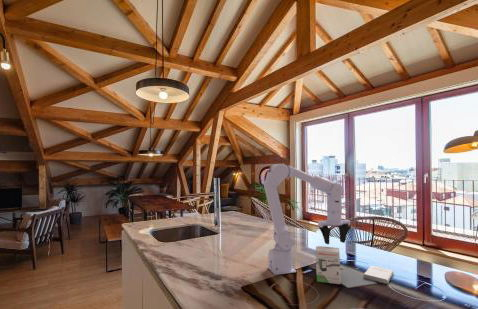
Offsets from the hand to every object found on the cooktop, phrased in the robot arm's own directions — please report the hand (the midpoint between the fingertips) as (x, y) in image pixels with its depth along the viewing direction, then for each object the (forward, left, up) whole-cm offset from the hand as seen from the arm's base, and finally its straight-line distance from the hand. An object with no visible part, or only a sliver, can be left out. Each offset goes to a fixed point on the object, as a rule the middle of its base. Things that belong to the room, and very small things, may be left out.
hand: (334, 242), depth 111 cm
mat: (-1, -10, -10) cm, 15 cm away
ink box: (-10, -10, -10) cm, 18 cm away
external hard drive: (+11, -12, -10) cm, 19 cm away
